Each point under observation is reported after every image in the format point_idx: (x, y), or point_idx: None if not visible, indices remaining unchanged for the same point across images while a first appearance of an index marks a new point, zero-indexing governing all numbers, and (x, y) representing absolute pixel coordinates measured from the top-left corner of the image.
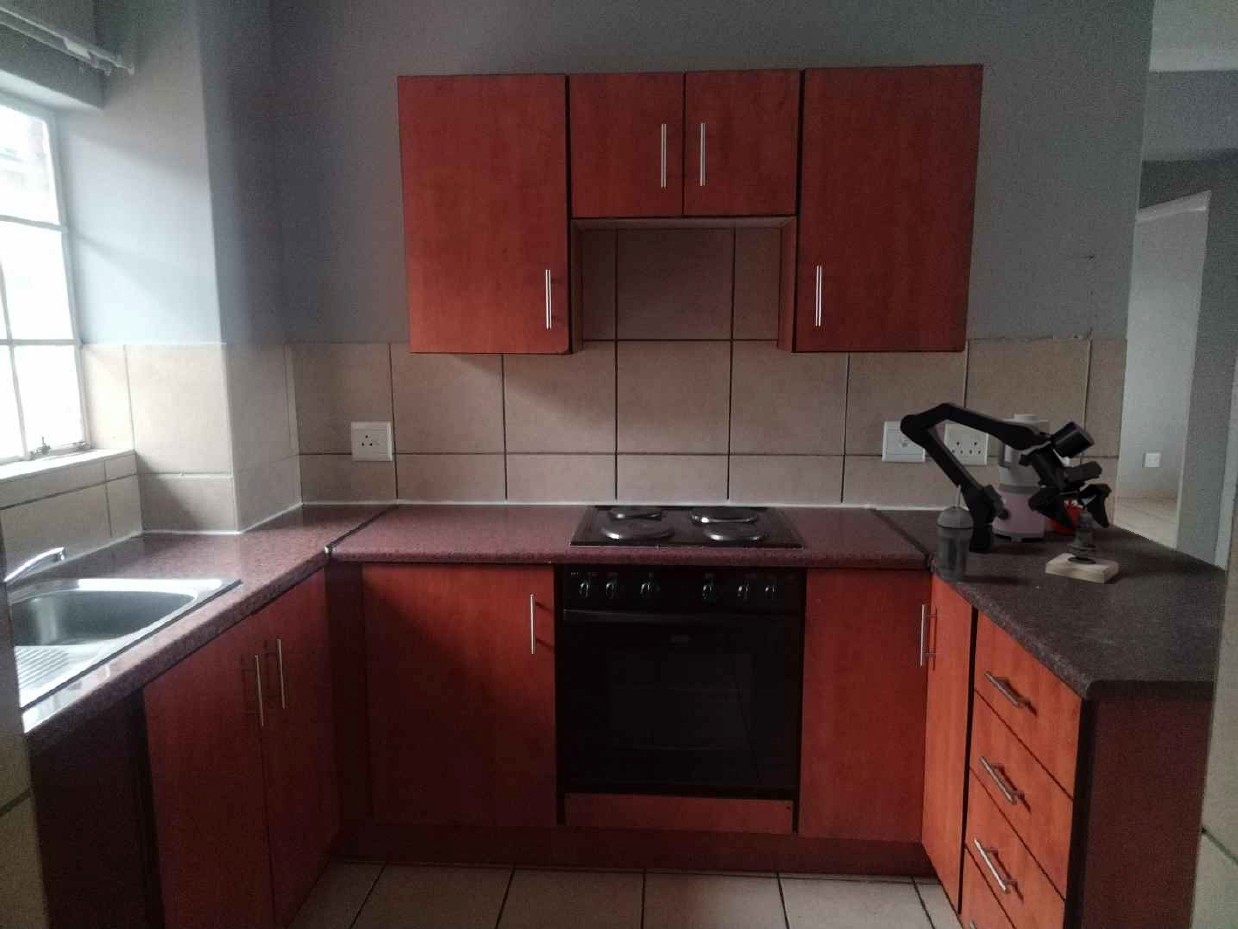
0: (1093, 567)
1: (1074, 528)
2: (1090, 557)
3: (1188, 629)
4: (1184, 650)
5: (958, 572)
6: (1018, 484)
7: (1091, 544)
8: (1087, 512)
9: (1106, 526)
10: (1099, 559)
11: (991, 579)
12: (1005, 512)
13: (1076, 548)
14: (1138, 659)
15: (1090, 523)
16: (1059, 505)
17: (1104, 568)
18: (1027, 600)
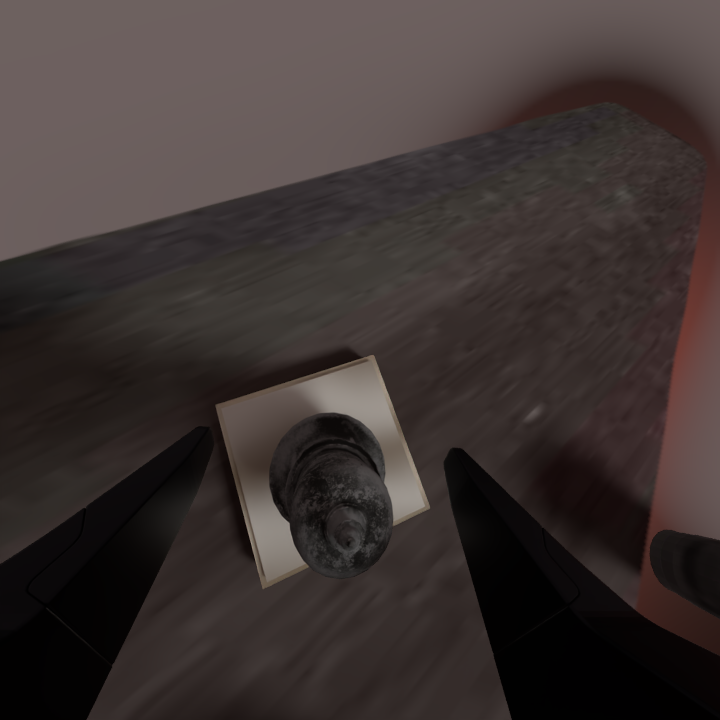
0: (360, 396)
1: (464, 456)
2: (243, 486)
3: (479, 156)
4: (556, 133)
5: (706, 537)
6: None
7: (331, 433)
8: (353, 502)
9: (209, 438)
10: (242, 453)
11: (591, 509)
12: None
13: (379, 460)
14: (630, 152)
15: (345, 454)
16: (658, 631)
17: (340, 374)
18: (612, 360)
